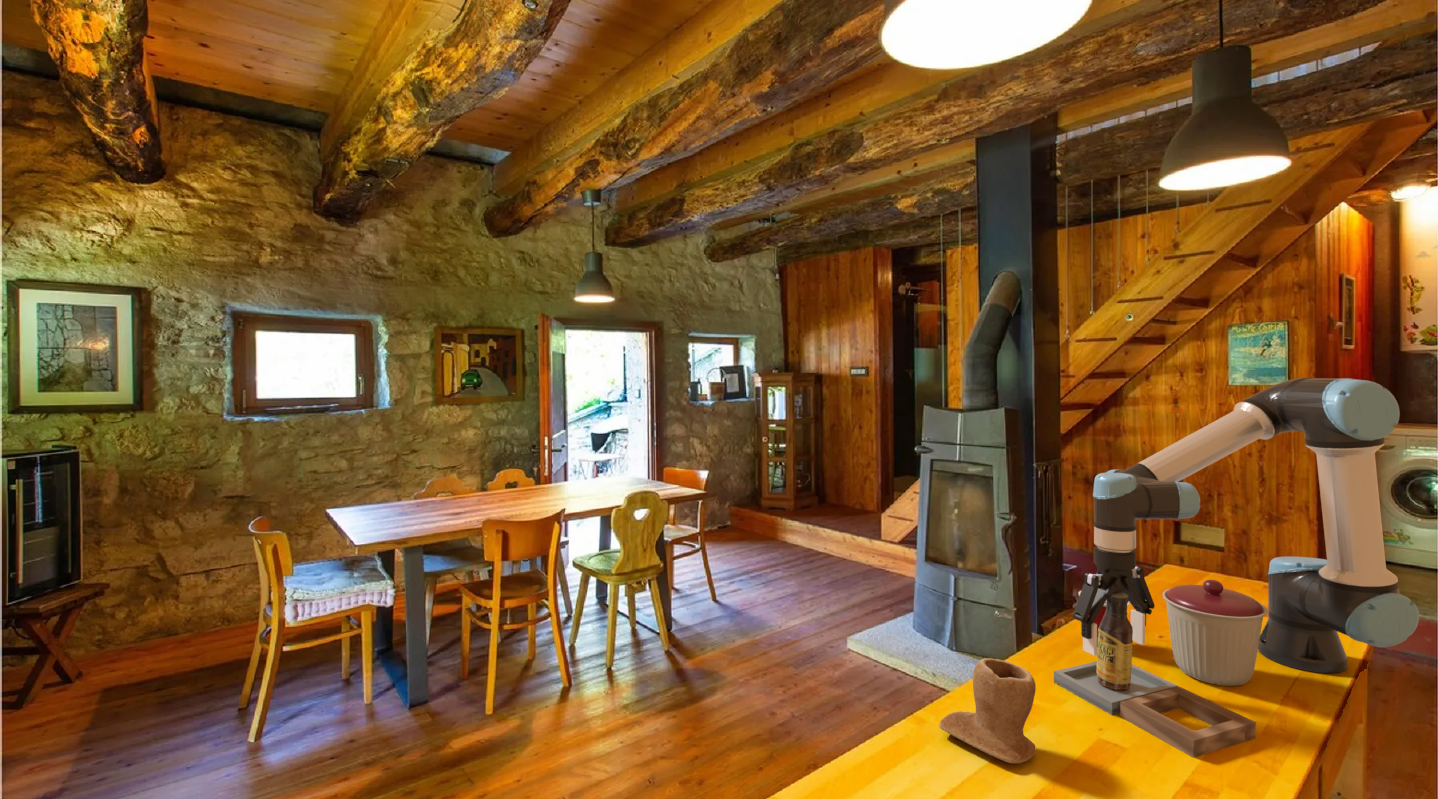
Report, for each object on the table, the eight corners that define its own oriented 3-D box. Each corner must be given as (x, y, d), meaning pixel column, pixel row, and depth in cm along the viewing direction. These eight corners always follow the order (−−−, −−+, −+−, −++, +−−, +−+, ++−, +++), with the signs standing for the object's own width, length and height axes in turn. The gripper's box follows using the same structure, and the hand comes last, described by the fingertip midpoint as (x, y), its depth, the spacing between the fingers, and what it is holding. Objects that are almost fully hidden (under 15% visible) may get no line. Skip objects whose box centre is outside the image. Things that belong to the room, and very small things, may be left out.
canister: (1243, 661, 146) (1244, 570, 145) (1283, 701, 129) (1285, 598, 128) (1151, 652, 152) (1151, 564, 151) (1178, 689, 135) (1178, 590, 134)
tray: (1116, 667, 145) (1116, 656, 145) (1177, 697, 131) (1177, 685, 131) (1053, 682, 139) (1053, 671, 139) (1111, 715, 126) (1111, 702, 126)
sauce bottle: (1089, 678, 138) (1090, 588, 137) (1117, 676, 139) (1118, 586, 138) (1110, 693, 132) (1111, 599, 131) (1139, 692, 132) (1140, 597, 131)
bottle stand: (1179, 700, 130) (1179, 686, 130) (1255, 738, 117) (1255, 722, 117) (1120, 716, 125) (1120, 701, 125) (1193, 757, 112) (1193, 740, 112)
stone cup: (1050, 750, 115) (1050, 669, 114) (1014, 776, 108) (1013, 690, 107) (974, 714, 127) (973, 641, 127) (937, 736, 121) (936, 658, 120)
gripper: (1141, 536, 141) (1140, 631, 142) (1053, 549, 133) (1053, 649, 134) (1175, 545, 134) (1174, 644, 135) (1084, 559, 126) (1084, 665, 127)
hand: (1114, 647), depth 135 cm, fingers open, 13 cm apart
